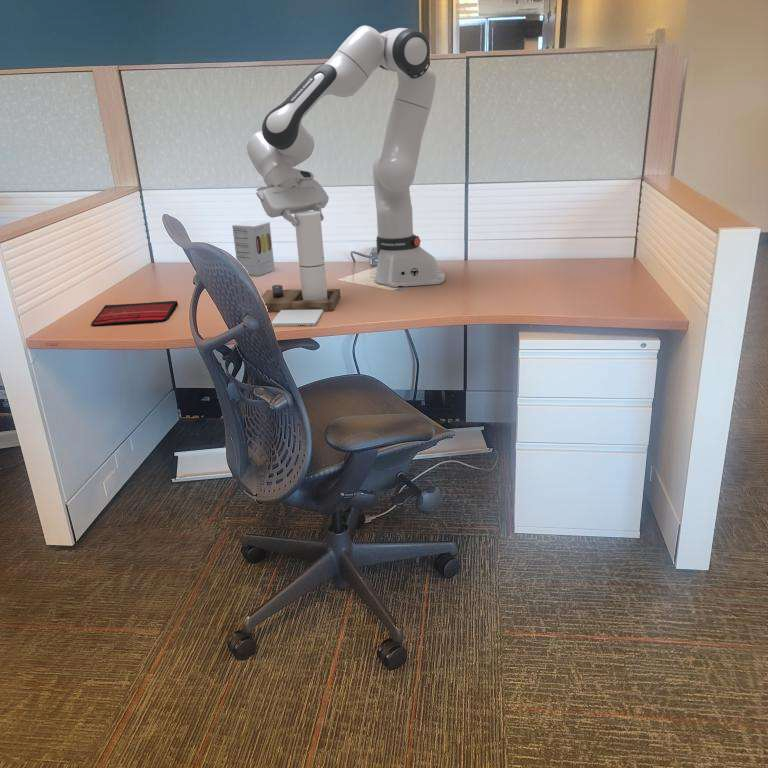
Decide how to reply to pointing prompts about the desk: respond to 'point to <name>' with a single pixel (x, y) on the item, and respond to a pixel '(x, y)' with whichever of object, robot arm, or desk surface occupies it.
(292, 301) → the walnut board
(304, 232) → the cylindrical container
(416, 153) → the robot arm
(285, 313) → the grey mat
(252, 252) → the supplement box
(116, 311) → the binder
